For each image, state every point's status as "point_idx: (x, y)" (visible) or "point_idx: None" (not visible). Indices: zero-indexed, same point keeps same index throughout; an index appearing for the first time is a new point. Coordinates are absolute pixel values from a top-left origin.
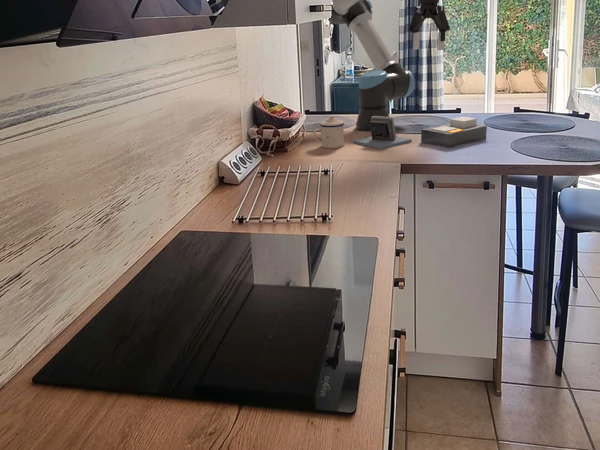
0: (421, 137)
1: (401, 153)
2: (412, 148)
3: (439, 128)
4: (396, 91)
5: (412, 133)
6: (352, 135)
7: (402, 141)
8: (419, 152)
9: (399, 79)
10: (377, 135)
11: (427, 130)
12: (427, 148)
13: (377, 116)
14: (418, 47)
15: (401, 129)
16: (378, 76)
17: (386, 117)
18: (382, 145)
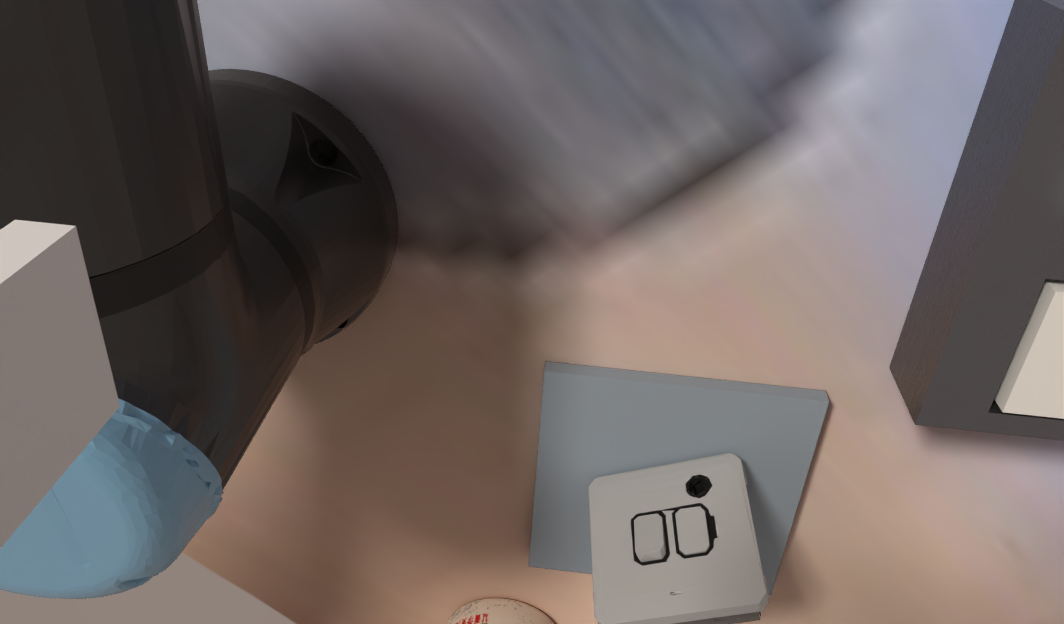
0: (900, 387)
1: (931, 589)
2: (926, 496)
3: (1061, 380)
4: (222, 175)
5: (658, 195)
6: (369, 443)
7: (809, 466)
8: (1016, 537)
9: (112, 154)
10: (611, 490)
11: (979, 430)
12: (1015, 458)
13: (644, 622)
14: (53, 287)
15: (480, 132)
16: (167, 546)
17: (722, 616)
18: (766, 575)
